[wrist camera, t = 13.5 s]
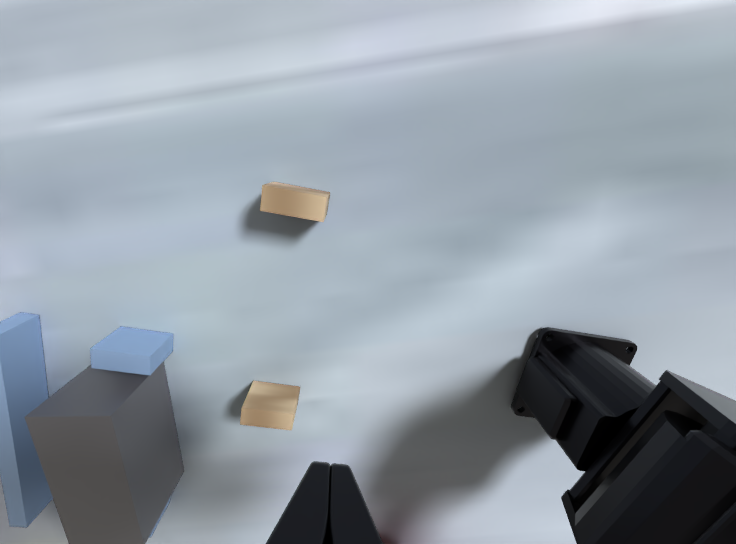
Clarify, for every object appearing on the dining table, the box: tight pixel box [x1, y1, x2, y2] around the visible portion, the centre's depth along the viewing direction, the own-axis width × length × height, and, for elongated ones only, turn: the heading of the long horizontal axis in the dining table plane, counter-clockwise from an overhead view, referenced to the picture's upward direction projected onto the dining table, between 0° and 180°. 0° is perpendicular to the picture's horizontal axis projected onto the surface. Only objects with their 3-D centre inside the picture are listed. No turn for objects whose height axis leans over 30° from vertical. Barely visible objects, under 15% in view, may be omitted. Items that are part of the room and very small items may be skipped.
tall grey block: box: [24, 361, 184, 544], centre depth 20 cm, size 4×9×5 cm, turn 179°
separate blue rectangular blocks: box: [0, 312, 173, 537], centre depth 21 cm, size 8×14×2 cm, turn 169°
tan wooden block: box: [240, 182, 330, 430], centre depth 19 cm, size 3×14×2 cm, turn 169°
